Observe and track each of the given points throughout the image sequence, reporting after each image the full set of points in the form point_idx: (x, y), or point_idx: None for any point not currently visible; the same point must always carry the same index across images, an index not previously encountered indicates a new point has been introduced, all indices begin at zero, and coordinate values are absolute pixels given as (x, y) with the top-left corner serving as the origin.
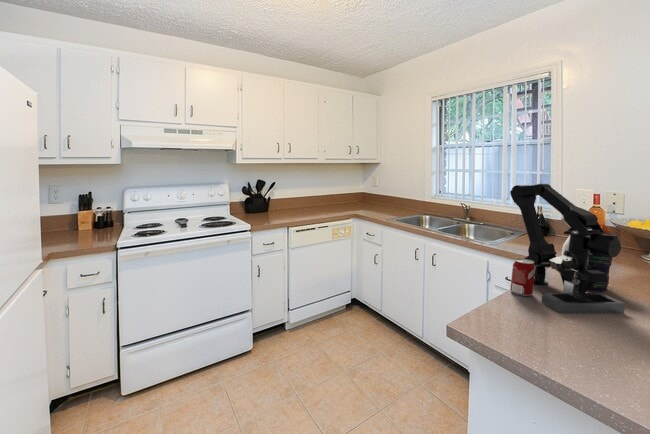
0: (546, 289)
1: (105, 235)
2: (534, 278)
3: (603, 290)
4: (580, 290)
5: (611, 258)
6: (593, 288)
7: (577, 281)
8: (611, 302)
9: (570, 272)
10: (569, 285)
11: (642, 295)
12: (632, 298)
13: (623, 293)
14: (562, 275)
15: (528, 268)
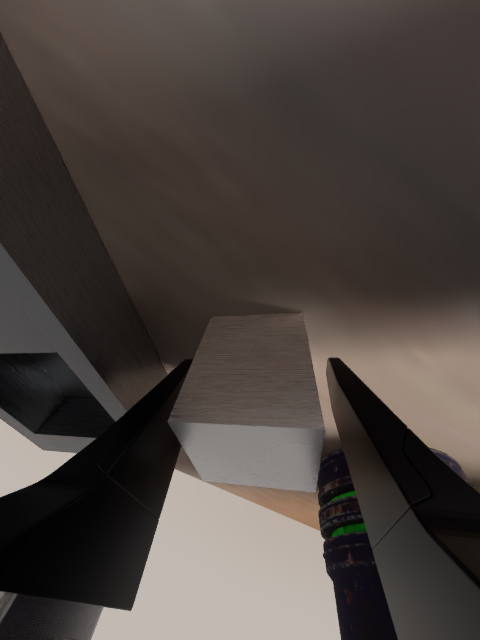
0: (435, 220)
1: None
2: None
3: (317, 483)
4: (146, 397)
5: None
6: (330, 474)
7: (278, 484)
8: (6, 415)
9: (412, 617)
10: (234, 390)
11: (283, 513)
12: (255, 490)
13: (300, 499)
14: (436, 506)
15: None
